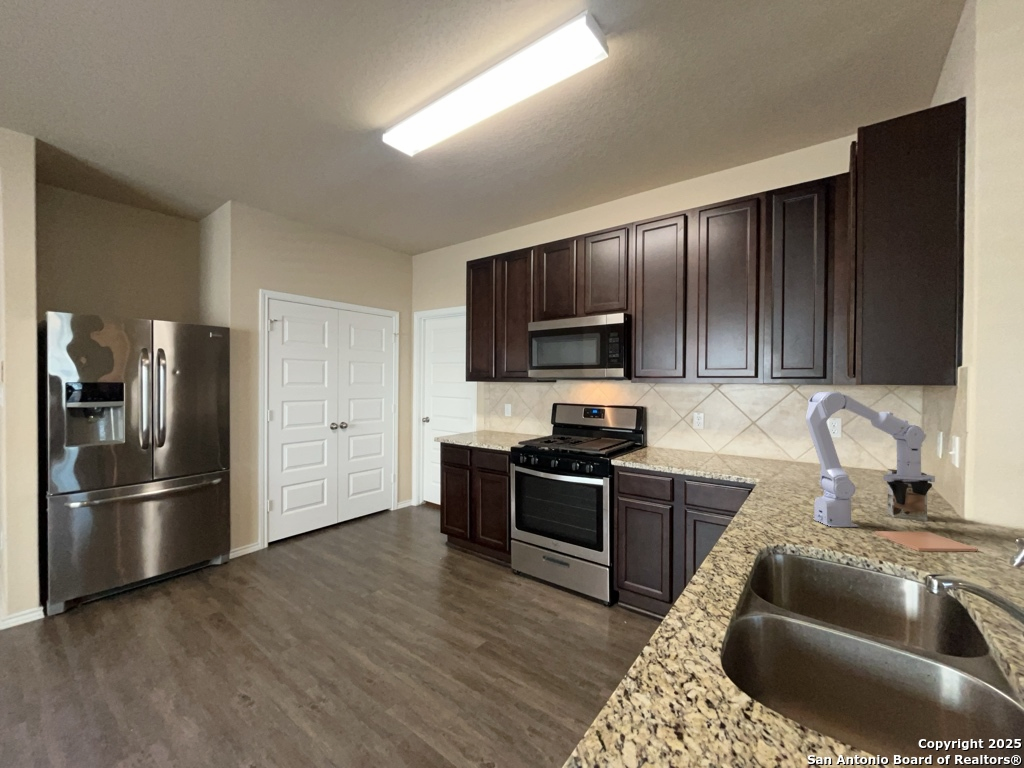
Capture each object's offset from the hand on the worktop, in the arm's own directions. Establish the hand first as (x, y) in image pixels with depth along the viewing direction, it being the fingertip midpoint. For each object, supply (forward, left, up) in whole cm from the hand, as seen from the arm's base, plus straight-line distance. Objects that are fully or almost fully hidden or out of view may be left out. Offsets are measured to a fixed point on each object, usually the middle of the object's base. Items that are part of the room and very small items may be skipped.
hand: (909, 503), depth 134 cm
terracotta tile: (-8, -13, -8) cm, 17 cm away
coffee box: (+10, +12, -8) cm, 18 cm away
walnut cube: (0, 0, -2) cm, 2 cm away
